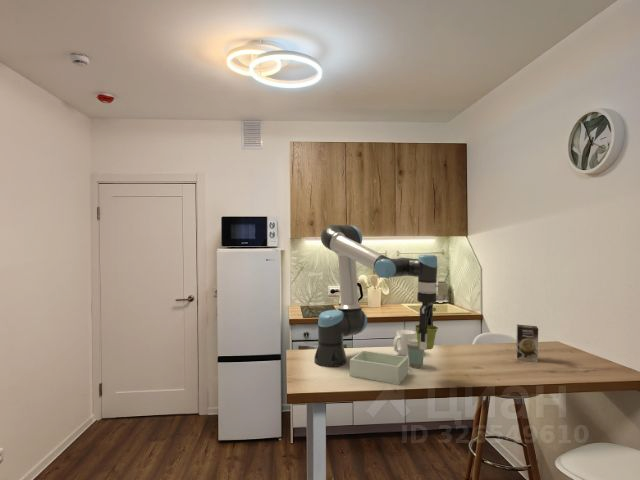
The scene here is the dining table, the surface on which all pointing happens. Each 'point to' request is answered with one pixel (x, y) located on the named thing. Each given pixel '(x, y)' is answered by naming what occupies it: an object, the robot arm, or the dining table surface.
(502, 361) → the dining table surface
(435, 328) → the plant pot
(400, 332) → the mug
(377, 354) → the box
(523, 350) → the coffee box
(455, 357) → the dining table surface
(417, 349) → the coffee cup
